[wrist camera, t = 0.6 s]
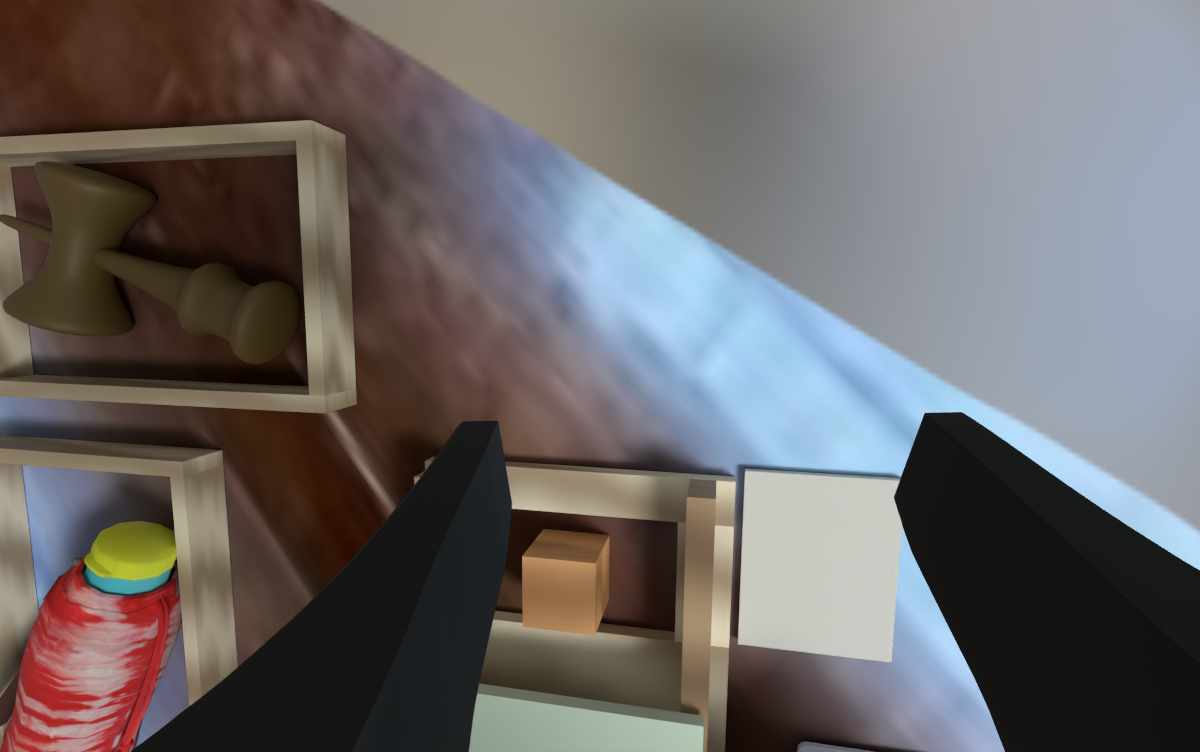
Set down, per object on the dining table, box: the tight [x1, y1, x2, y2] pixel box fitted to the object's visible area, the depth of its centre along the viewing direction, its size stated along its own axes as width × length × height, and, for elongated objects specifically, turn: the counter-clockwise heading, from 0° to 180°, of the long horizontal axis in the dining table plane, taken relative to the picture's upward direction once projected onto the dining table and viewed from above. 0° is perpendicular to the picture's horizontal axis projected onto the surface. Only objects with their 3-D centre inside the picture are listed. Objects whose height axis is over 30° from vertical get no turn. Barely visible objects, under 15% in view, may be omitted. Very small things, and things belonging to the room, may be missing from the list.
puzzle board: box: [414, 457, 736, 752], centre depth 34 cm, size 20×18×4 cm
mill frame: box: [0, 120, 357, 413], centre depth 37 cm, size 16×26×3 cm, turn 89°
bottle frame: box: [0, 435, 238, 748], centre depth 42 cm, size 31×18×3 cm, turn 179°
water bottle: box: [0, 521, 182, 752], centre depth 40 cm, size 12×8×25 cm
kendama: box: [0, 161, 301, 364], centre depth 36 cm, size 6×10×20 cm
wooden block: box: [522, 529, 610, 636], centre depth 34 cm, size 4×4×4 cm
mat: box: [738, 468, 902, 662], centre depth 33 cm, size 10×8×1 cm
